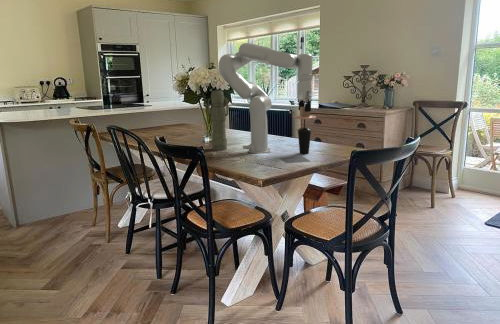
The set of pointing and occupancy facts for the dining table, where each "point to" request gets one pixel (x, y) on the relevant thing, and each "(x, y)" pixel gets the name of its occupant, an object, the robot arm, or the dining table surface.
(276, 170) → the dining table surface
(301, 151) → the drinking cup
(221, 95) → the thermos
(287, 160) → the mat
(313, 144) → the dining table surface
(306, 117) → the lid
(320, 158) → the dining table surface
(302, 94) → the robot arm
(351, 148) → the dining table surface
